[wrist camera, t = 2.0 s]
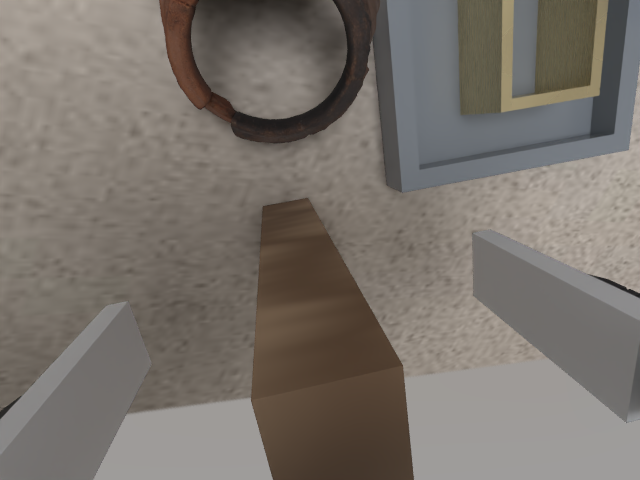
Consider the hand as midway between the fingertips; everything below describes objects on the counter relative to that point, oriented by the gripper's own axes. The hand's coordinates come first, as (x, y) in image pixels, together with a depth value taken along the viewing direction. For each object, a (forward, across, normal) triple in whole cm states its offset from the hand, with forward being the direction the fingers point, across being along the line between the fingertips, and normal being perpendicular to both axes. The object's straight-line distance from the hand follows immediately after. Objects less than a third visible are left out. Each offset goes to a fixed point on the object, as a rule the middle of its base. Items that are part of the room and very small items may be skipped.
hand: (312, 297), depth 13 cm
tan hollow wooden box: (+7, +12, +9) cm, 16 cm away
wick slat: (+8, 0, 0) cm, 8 cm away
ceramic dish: (+8, +12, +9) cm, 17 cm away
